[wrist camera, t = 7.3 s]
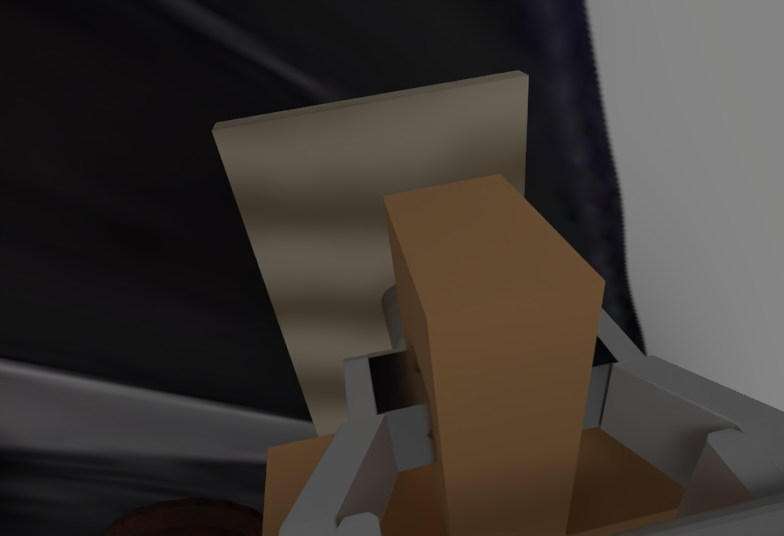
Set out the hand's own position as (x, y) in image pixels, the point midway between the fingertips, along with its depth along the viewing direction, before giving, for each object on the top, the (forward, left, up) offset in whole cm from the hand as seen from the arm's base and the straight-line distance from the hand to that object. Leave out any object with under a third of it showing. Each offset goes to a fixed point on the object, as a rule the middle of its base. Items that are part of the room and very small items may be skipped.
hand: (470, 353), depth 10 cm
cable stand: (+9, 0, -15) cm, 17 cm away
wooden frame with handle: (+6, 0, -2) cm, 6 cm away
